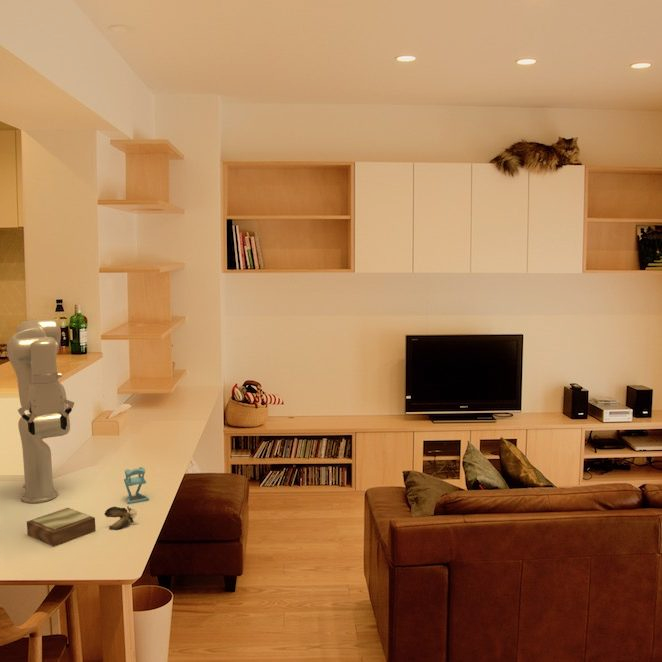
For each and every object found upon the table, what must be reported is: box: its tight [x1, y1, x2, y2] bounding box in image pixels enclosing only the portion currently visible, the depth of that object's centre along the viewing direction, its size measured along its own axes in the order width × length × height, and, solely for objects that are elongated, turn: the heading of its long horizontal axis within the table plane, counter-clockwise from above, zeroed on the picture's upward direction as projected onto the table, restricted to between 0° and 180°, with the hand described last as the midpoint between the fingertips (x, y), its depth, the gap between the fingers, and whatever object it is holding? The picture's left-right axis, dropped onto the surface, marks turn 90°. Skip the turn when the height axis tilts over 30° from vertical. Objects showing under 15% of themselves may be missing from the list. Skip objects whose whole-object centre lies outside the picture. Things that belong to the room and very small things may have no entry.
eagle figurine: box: [104, 505, 138, 531], centre depth 245 cm, size 8×7×9 cm
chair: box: [123, 466, 150, 505], centre depth 268 cm, size 8×8×12 cm
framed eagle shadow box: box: [26, 507, 96, 547], centre depth 239 cm, size 15×15×5 cm
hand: (48, 431), depth 237 cm, fingers open, 9 cm apart
